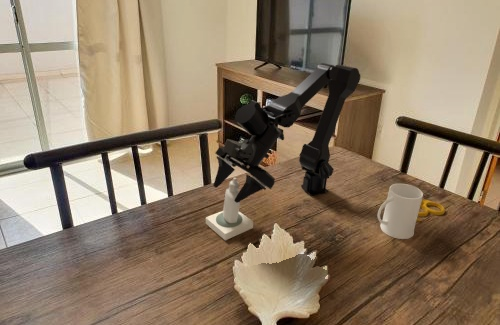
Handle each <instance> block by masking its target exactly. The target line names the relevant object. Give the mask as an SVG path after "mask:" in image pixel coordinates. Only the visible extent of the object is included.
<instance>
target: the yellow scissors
mask: <svg viewBox="0 0 500 325" xmlns="http://www.w3.org/2000/svg"><path fill="white" fill-rule="evenodd" d="M428 206H432V207H436V208H439V209H440V210H435V209H432V208H430V207H428ZM420 209H422V210H423V212H421V211H419V212H418V216H417V220H416V222H422V219H421V217H423V218H424V217H426V216H428V215H429V214H430V215H435V216H442V215H445V212H446V209H445V207H444V206H443V205H442V204H440V203H437V202H434V201H431V200H428V199H424V198H422V201H421V205H420ZM419 217H420V218H419Z"/></svg>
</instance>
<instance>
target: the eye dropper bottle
mask: <svg viewBox="0 0 500 325" xmlns="http://www.w3.org/2000/svg"><path fill="white" fill-rule="evenodd" d="M239 188H240V182H239V181H237V177H233V179H232V180H230V181H229V184H228V187H227V188H226V189H225V193H224V194H225V195H224V200H223V201H224V202H223V210H222V211H223V217H224V219H225V220H226V221H227V222H228V223H236V222H237V220H238V212H240V211H239V210H240V205H241V204H240V203H241V201H240V202H238V203H236V202H235V201H234V200H235V198H236V196H237V195H238V193H239V191H240V190H239Z"/></svg>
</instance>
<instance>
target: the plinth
mask: <svg viewBox="0 0 500 325" xmlns="http://www.w3.org/2000/svg"><path fill="white" fill-rule="evenodd" d="M205 225H206V226H207V227H209V228H210V229H211V230H212V231H213V232H215V234H217V235H218V236H219V237H220V238H221V239H222V240H224V241H228V240H229V239H231V238H235V237H236V236H238V235H240V234H243V233H245V232H247V231H250V230H251V229H253V228H254V221H253V220H252V219H250V218H249V217H247V216H246V215H245V214H243V213H242V212H241V211H239V212H238V220H237V222H236V223H228V222H227V221H226V220H225V219H224V217H223V210H222V211H219V212H216V213H214V214H211V215H209V216H206V217H205Z"/></svg>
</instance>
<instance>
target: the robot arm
mask: <svg viewBox="0 0 500 325" xmlns="http://www.w3.org/2000/svg"><path fill="white" fill-rule="evenodd" d="M360 81H361V74H360V70H359V69H358V68H357V67H352V66H349V65H343V64H336V65H334V64H329V63H325V62H322V63H319V64H318V65H317V66H316V68H315V69H314V70H313V71H312V72H311V73H310V74H309V75H308V76H307V77H306V78H304V79H303V81H302V82H300V83H299V84H298V85H297V86H296V87H295V88H293V90H292V91H290V92H289V93H288V94H283V95H281V96H279V97H277V98H276V99H274V100H273V101H271V102H270V103H269V104H268V105H266V106H264V107H262V106H261V104H260V103H259V102H258V101H256V100H253V99H252V100H251V101H250V102H249V103H246V104H244V105H243V106H241V107H239V108H238V109H237V110H236V112H235V115H234V120H235V122H236V123H237V124H238V125H239V126H240V127H241V128H242V129H243V130H244V131H245V132H247V134H248V135H250V136H251V137H250V139H247V138H246V139H244V140H243V141H242V142H240V141H236V140H233V139H229V138H226V141H225V143H224V146H219V147H218V149H217V150H216V151H215V152H214V153H215V155H217V156H216V159H217V161H218V162H217V163H218V168H217V172H216V175H215V179H214V182H213V187H214V188H218V187H219V186H221V185H222V184H223V182H225V181H226V180H227V178H228V177H230V176H231V174H233V173H234V172H235V171H236V169H235V167H237V168H240V169H241V170H243V171H245V172H246V173H248V174H246V175H245V182H244V184H243V186H241V188H240V190H238V191H239V193H238V195H237V196H236V198H235V200H234V201H235V202H236V203H238V202H240V203H241V202H242V201H243V200H245V199H247V198H248V197H250V196H251V195H254V194H256V193H257V192H260V191H262V190H264V191H266V190H267V188H268V189H269V190H271V189H272V188H273V187H274V185H275V183H276V182H275V181H276V180H275V177H274V176H273V175H271V174H270V172H268V171H267V170H265V169H264V168H262V167H260V164H261V163H262V162H263V161H264V159H267V160H268V159H269V157H270V154H268V153H269V151H270V149H272V147H273V145H274V144H275V143H276V141H277V140H281V141H284V140H285V135H284V129H282V128H280V127H283V128H290V127H292V126H293V125H294V124H295V123H296V121H297V120H299V118H300V116H301V114H302V109H303V107H305V105H306V104H307V103H308V102H310V101H311V100H312V99H313V98H314V97H315V96H316V95H317V94H318V93H319V92H320V91H321V90H322V89H323V88H325V86H326V85H327V88H328V89H327V90H328V96H327V99H326V101H325V104H324V107H323V109H322V113H321V115H320V118H319V121H318V124H317V125H316V130H315V132H314V135H313V138H312V140H311V141H309V142H308V143H307V144H306V143H303V145H302V148H301V151H300V153H299V154H298V155H299V158H298V162H299V164H300V166H301V170H303V171H305V172H304V176H303V181H302V184H301V186H300V187H301V188H302V189H303V190H304V191H305V192H306V193H307V194H308V195H309V196H311V197H312V196H318V195H323V194H327V193H329V190H328V189H327V188H326V187H327V182H328V179H330V177H331V176H333V172H334V170H335V168H333V167H332V165H331V164H330V163H329V162H330V157H331V154H330V148H329V147H330V146H329V145H330V142H331V139H332V136H333V134H334V131H335V129H336V126H337V123H338V121H339V118H340V115H341V112H342V110H343V106H344V104H345V102H346V99H347V98H348V97H349V96H351V95H352V94H353V93H355V91H356V89H357V87H358V85H359V83H360ZM275 124H276V125H278V126H280V127H278V126H276V125H275ZM249 174H250V175H249Z"/></svg>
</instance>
